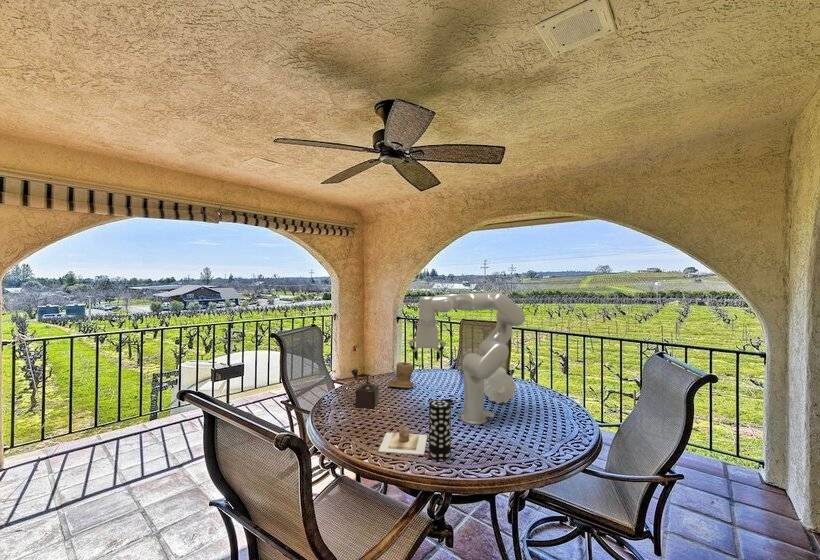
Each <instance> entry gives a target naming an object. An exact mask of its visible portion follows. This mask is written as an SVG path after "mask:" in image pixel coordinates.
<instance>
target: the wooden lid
mask: <svg viewBox="0 0 820 560" xmlns="http://www.w3.org/2000/svg"><path fill="white" fill-rule="evenodd" d="M392 433H393V435H392V438H391V440H390V443H389V446H388V449H402V450H416V447H417V443H418V438H419V435H420V434H419V435H412V434H413V433H410V427H409V426H407V425H402V426H399V427H398V433H399V434H396V433H397V432H392Z"/></svg>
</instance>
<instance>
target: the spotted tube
mask: <svg viewBox="0 0 820 560" xmlns="http://www.w3.org/2000/svg"><path fill="white" fill-rule="evenodd" d="M451 405H452V404H451V402H450V401H448V400H445V399H433V400H430V401H429V402H428V456H429V458H430V459H432V460H434V461H436V460H437V461H438V462H443V461H447V460H449V459H450V458H451V451H452V448H451V443H452V442H451V441H452V439H451V435H452V433H451V422H452V421H451V420H452V419H451V418H452V417H451V415H452V414H451V413H452V412H451V410H452V406H451Z"/></svg>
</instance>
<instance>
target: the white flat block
mask: <svg viewBox="0 0 820 560" xmlns="http://www.w3.org/2000/svg"><path fill="white" fill-rule="evenodd" d="M393 433H394V432H386V433H385V434H384V437H383V439H382V441H381V444H380V445H379V448H378V450H377V451H378V453H387V454H401V455H411V456H413V455H416V456H425V452H426V445H427V438H428V434H418V433H411V434H412V435H419V438H418V443H417V447H416V450H402V449H388V446H389V443H390V440H391V438H392V435H393ZM395 433H396V434H399V432H395Z"/></svg>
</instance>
